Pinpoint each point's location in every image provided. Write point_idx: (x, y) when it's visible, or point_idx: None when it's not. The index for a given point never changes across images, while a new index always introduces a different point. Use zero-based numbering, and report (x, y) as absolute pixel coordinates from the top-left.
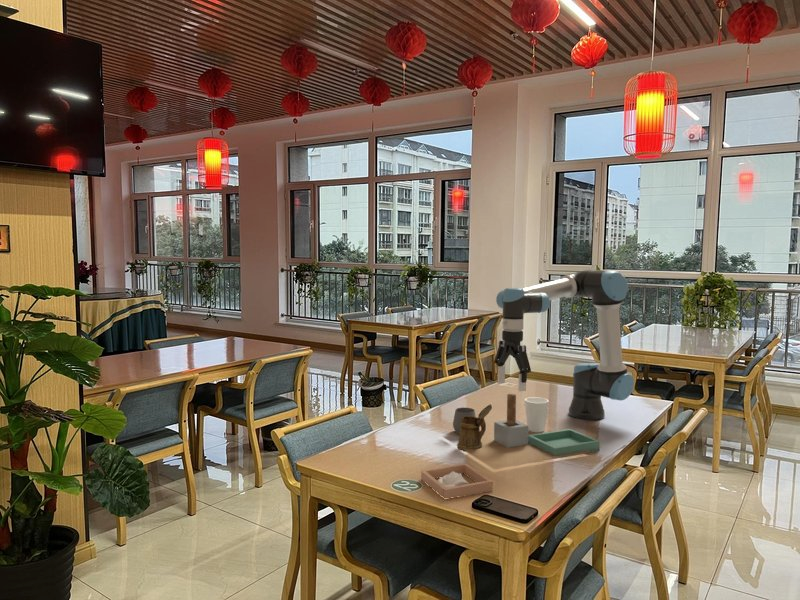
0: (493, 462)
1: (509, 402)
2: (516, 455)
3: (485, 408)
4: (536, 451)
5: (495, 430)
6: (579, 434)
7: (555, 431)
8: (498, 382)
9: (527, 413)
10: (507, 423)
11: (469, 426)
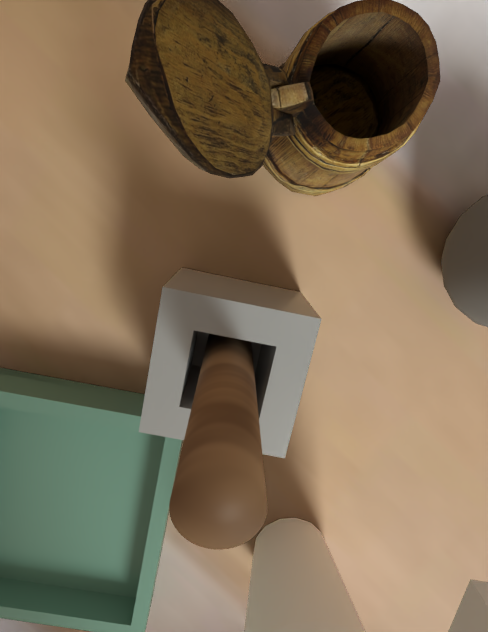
0: (84, 74)
1: (209, 426)
2: (102, 250)
3: (147, 9)
4: (96, 366)
5: (297, 303)
6: (65, 613)
7: (151, 564)
8: (484, 593)
9: (320, 591)
10: (234, 354)
11: (307, 31)
